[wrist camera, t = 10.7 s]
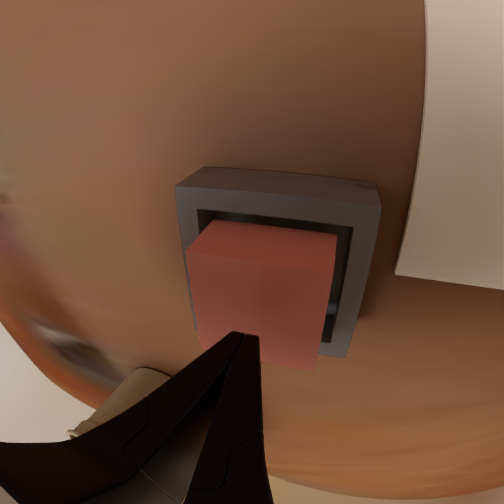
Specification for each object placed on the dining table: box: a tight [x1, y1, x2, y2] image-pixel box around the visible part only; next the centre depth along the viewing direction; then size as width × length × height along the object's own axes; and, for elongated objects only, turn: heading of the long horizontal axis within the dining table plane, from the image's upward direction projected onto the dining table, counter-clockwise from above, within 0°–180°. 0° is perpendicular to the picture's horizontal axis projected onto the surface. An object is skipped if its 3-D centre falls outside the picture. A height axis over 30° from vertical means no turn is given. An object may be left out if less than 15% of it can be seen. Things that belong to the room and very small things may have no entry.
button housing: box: [175, 167, 382, 358], centre depth 13 cm, size 7×7×2 cm
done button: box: [185, 219, 337, 371], centre depth 11 cm, size 4×4×2 cm
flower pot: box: [66, 368, 171, 439], centre depth 20 cm, size 9×9×9 cm
